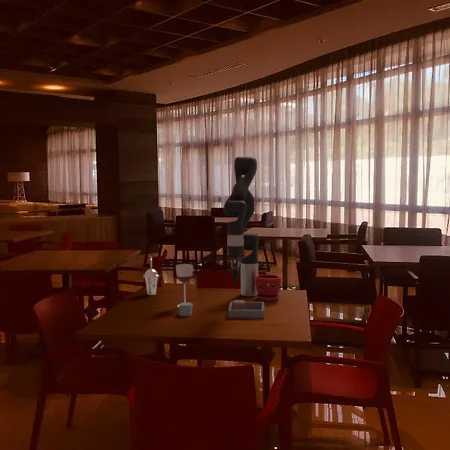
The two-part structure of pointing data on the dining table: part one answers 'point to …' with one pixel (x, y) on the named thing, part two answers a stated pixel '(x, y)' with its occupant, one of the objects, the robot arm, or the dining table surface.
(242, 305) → the walnut block
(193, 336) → the dining table surface
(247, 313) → the tray
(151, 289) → the cup with straw
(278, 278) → the plant pot
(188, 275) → the wineglass
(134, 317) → the dining table surface
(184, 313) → the slate block
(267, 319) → the dining table surface
